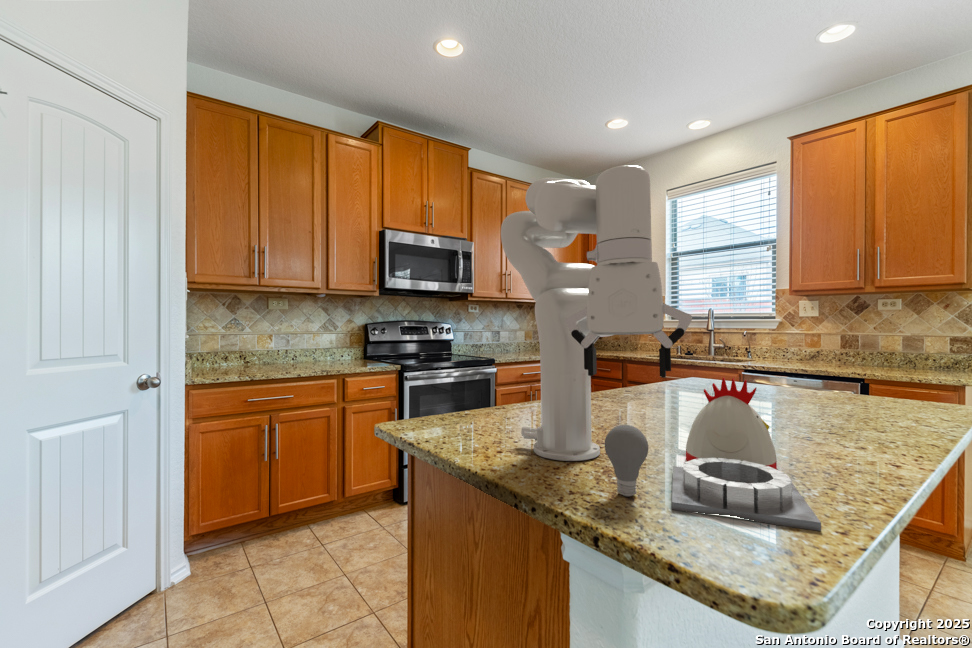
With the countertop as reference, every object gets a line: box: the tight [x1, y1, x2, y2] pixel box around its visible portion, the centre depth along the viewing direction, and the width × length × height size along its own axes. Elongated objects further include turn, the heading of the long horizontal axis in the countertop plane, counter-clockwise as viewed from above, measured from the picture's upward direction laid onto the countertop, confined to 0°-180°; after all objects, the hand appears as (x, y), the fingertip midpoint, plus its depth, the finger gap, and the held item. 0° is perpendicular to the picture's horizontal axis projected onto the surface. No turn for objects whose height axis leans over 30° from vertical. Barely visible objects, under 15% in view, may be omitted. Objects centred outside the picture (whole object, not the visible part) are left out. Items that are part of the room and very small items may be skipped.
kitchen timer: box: [685, 377, 778, 470], centre depth 77 cm, size 14×14×15 cm
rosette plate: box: [671, 458, 822, 532], centre depth 61 cm, size 16×16×4 cm
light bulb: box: [604, 424, 649, 497], centre depth 63 cm, size 6×6×10 cm
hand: (626, 375), depth 62 cm, fingers open, 9 cm apart
